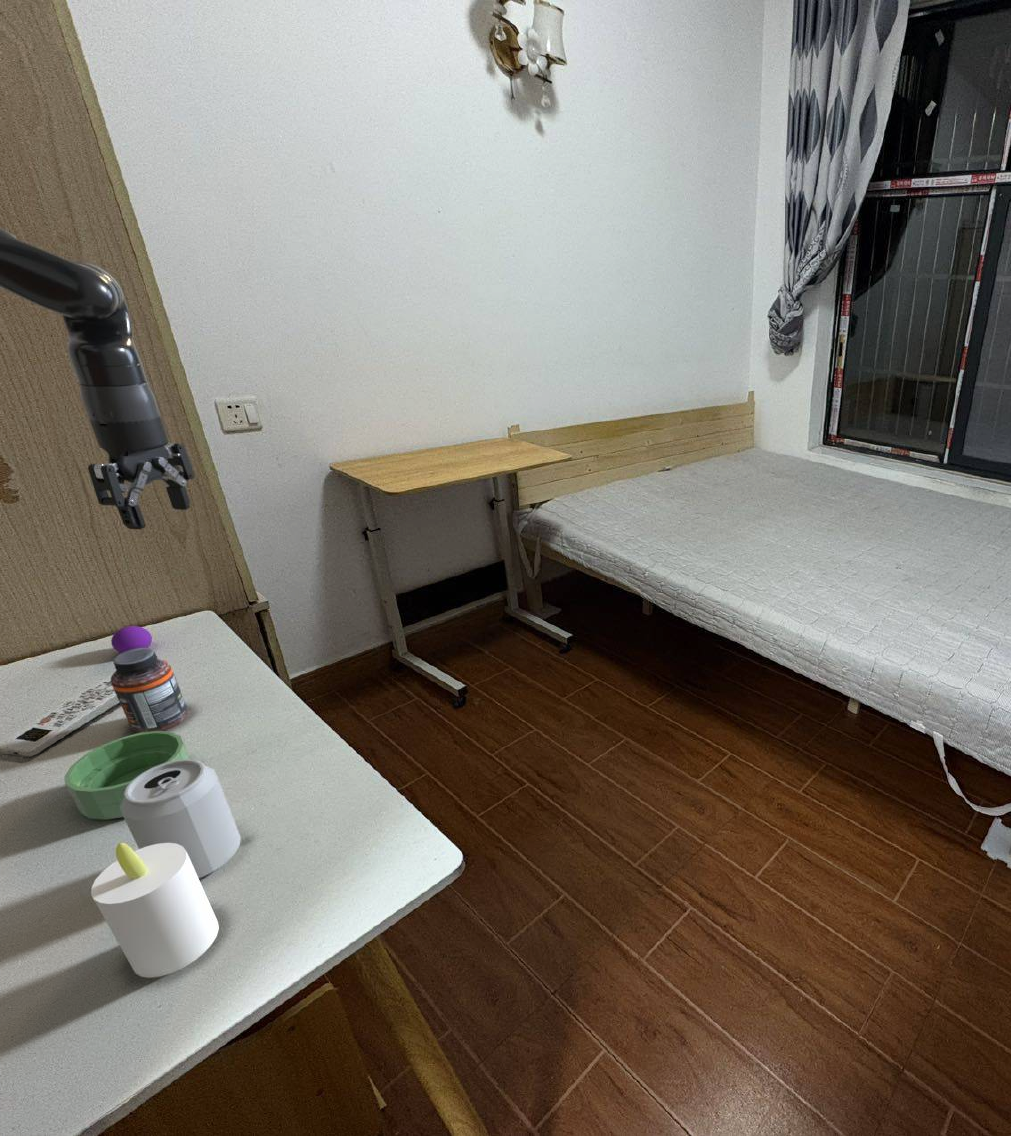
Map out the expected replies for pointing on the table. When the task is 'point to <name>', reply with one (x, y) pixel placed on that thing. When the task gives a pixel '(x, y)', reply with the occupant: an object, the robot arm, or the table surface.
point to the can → (182, 813)
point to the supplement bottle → (148, 691)
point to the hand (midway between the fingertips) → (160, 518)
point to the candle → (156, 908)
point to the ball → (131, 639)
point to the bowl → (118, 770)
